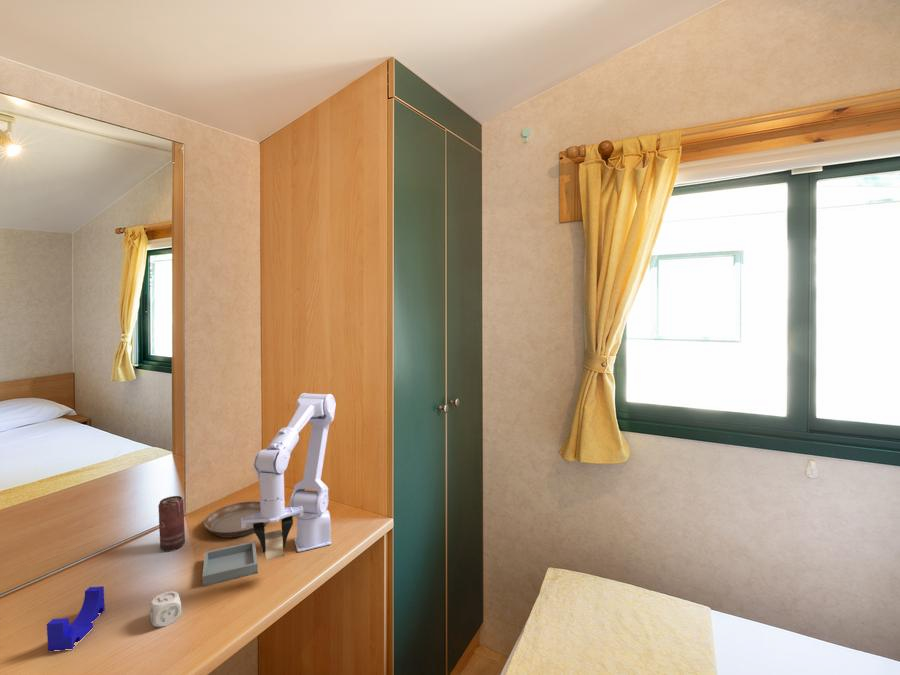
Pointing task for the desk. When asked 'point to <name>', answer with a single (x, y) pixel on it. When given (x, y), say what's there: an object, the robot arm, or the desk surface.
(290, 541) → the desk surface
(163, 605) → the die
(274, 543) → the block
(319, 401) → the robot arm
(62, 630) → the blue curved piece
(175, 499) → the can
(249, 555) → the tray
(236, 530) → the plant saucer
